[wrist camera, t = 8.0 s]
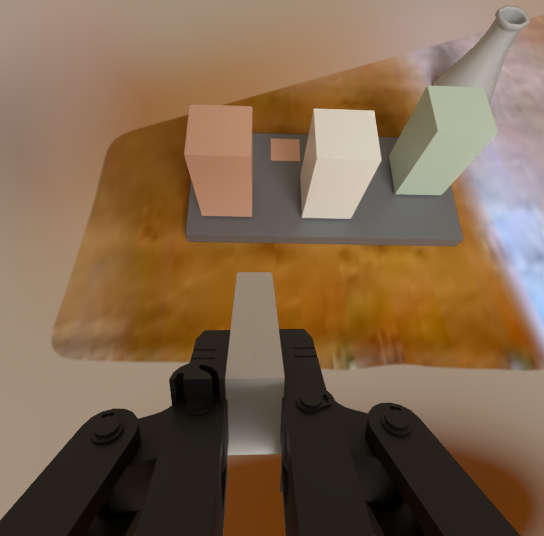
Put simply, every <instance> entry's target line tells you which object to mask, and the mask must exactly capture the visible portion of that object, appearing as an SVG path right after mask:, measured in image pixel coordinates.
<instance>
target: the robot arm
mask: <svg viewBox="0 0 544 536" xmlns="http://www.w3.org/2000/svg"><path fill="white" fill-rule="evenodd" d="M169 381H170V390H171V399H172V406H171V407H169V408H168V409H166V410H164V411H162V412H160V413H157V414H154V415H151V416H147V417H143V418H140V419H138V418H137V417H136V416H135V414H134V413H133V412H131V411H129V410H126V409H111V410H107V411H103V412H101V413H99V414H97V415H95V416H93V417H92V418H90V419H89V420H88V421H87V422H86V423H85V424H84V425H83V426H82V427H81V428H80V429H79V430H78V431H77V432H76V433H75V435H74V436H73V437H72V438H71V439H70V440H69V442H68V443H67V444H66V445H65V446H64V448H63V449H62V450H61V451H60V452H59V453H58V454H57V456H56V457H55V458H54V459H53V460H52V461H51V462H50V464H49V465H48V466H47V467H46V468H45V469H44V471H43V472H42V473H41V474H40V475H39V476H38V477H37V479H36V480H35V481H34V482H33V483H32V484H31V486H30V487H29V488H28V489H27V490H26V492H25V493H24V494H23V495H22V496H21V497H20V498H19V499H18V501H17V502H16V503H15V504H14V505H13V507H12V508H11V509H10V510H9V511H8V512H7V513H6V514H5V516H4V517H3V518H2V519H1V520H0V536H223V527H224V515H225V501H226V486H227V455H247V454H248V455H249V454H280V453H281V454H282V466H281V483H280V492H283V504H284V518H285V532H286V536H374V534H375V536H520V535H519V534H518V533H517V531H516V530H515V529H514V528H513V527H512V526H511V524H510V523H509V522H508V521H507V520H506V519H505V517H504V516H503V515H502V514H501V513H500V511H499V510H498V509H497V508H496V507H495V506H494V505H493V503H492V502H491V501H490V500H489V499H488V498H487V496H486V495H485V494H484V493H483V492H482V491H481V489H480V488H479V487H478V486H477V485H476V484H475V482H474V481H473V480H472V479H471V478H470V477H469V475H468V474H467V473H466V472H465V471H464V470H463V468H462V467H461V466H460V465H459V464H458V463H457V462H456V460H455V459H454V458H453V457H452V456H451V454H450V453H449V452H448V451H447V450H446V449H445V447H444V446H443V445H442V444H441V443H440V442H439V440H438V439H437V438H436V437H435V436H434V435H433V433H432V432H431V431H430V430H429V429H428V428H427V427H426V425H425V424H424V423H423V422H422V421H421V419H420V418H419V417H418V416H416V415H415V414H414V413H413V412H412V411H411V410H409V409H407V408H405V407H403V406H401V405H397V404H393V403H380V404H378V405H375V406H374V407H372V409H371V410H370V411H369V413H364V412H360V411H356V410H352V409H349V408H346V407H344V406H342V405H340V404H338V403H337V402H336V401H335V400H334V398H333V396H332V395H331V394H330V393H329V392H328V391H327V390H326V387H325V383H324V380H323V376H322V372H321V369H320V365H319V361H318V358H317V354H316V350H315V347H314V343H313V339H312V337H311V336H310V335H309V334H308V333H307V332H306V331H305V330H304V329H279V326H278V318H277V310H276V302H275V293H274V285H273V277H272V272H237V278H236V287H235V296H234V305H233V313H232V322H231V330H208V331H204V332H203V333H202V334H201V335H200V336H199V337H198V338H197V339H196V342H195V346H194V351H193V353H192V357H191V361H190V363H189V364H186V365H184V366H182V367H180V368H179V369H177V370H176V371H175V372H174V373H173V374H172V376H171V377H170V380H169Z"/></svg>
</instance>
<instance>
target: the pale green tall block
mask: <svg viewBox="0 0 544 536" xmlns="http://www.w3.org/2000/svg"><path fill="white" fill-rule="evenodd" d="M497 134H498V131H497V128H496V125H495V121H494V118H493V115H492V112H491V109H490V106H489V102H488V99H487V96H486V93H485V90H484V88H481V87H455V86H429V85H427V87H426V89H425V91H424V93H423V94H422V96H421V98H420V100H419V102H418V104H417V105H416V107H415V109H414V111H413V113H412V115H411V116H410V118H409V120H408V122H407V124H406V126H405V127H404V129H403V131H402V133H401V135H400V137H399V138H398V140H397V142H396V144H395V146H394V147H393V149H392V151H391V153H390V155H389V160H390V166H391V172H392V178H393V185H394V191H395V194H406V195H442V194H443V193H444V192H445V191H446V190H447V189H448V187H449V186H450V185H451V184H452V183H453V182H454V181H455V180H456V179H457V178H458V176H459V175H460V174H461V173H462V172H463V171H464V170H465V169H466V168H467V167H468V165H469V164H470V163H471V162H472V161H473V160H474V159H475V158H476V157H477V156H478V154H479V153H480V152H481V151H482V150H483V149H484V148H485V147H486V146H487V145H488V143H489V142H490V141H491V140H492V139H493V138H494V137H495V136H496V135H497Z"/></svg>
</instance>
